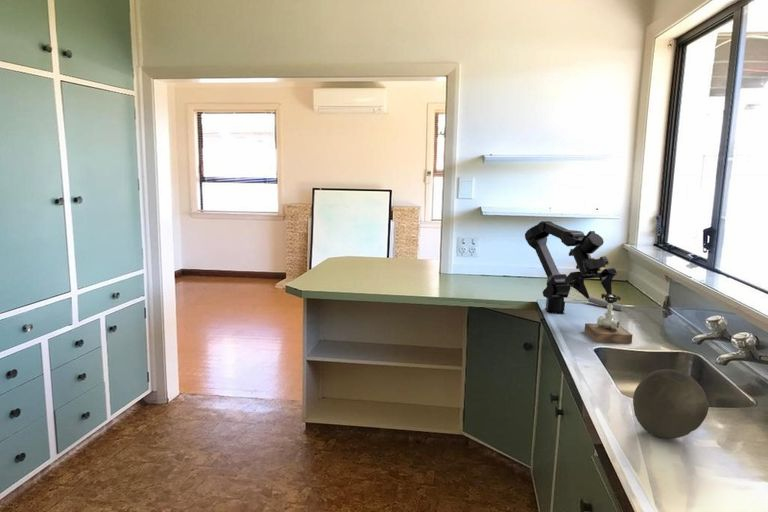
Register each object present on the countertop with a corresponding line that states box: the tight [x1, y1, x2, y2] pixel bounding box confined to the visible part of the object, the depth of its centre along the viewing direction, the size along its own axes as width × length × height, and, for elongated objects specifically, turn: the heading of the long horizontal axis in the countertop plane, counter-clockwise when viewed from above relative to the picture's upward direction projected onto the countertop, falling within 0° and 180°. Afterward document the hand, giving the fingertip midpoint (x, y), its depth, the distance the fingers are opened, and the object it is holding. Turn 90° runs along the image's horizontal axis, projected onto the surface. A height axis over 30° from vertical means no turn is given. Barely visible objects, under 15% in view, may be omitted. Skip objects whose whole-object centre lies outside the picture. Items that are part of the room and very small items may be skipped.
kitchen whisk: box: [567, 288, 627, 312], centre depth 234 cm, size 6×34×6 cm, turn 41°
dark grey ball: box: [632, 368, 710, 440], centre depth 117 cm, size 14×14×15 cm
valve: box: [596, 292, 622, 330], centre depth 187 cm, size 7×7×12 cm
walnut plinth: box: [584, 323, 633, 344], centre depth 188 cm, size 12×12×3 cm
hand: (599, 296), depth 194 cm, fingers open, 9 cm apart
